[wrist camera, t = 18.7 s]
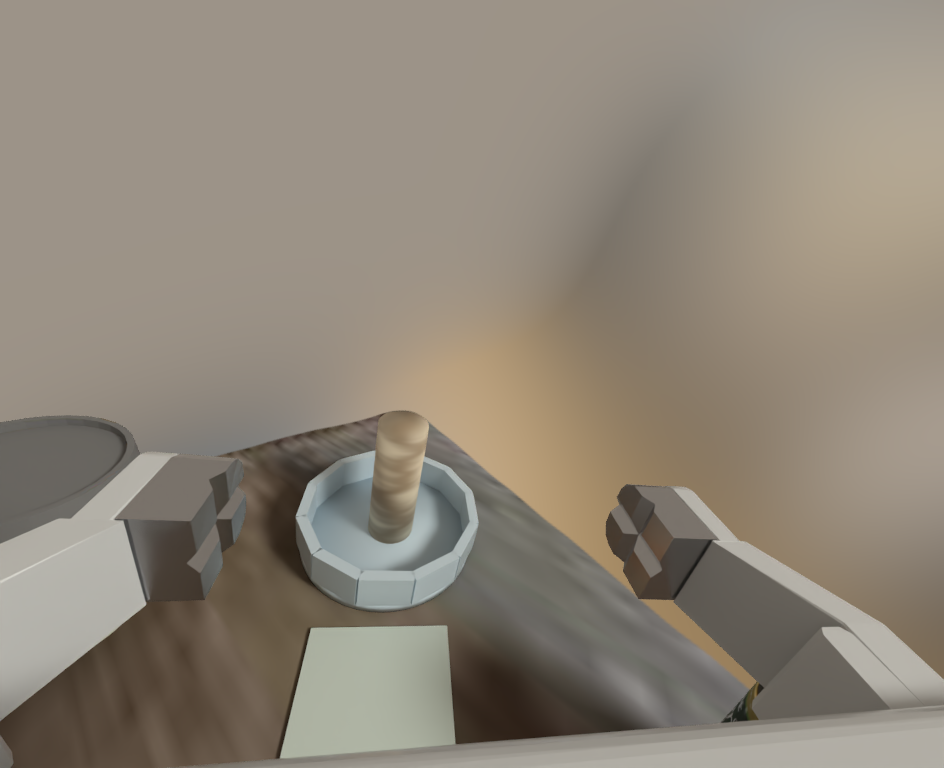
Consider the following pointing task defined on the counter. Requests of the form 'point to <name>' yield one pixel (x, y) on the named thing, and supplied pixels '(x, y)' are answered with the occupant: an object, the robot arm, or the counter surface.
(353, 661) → the mat
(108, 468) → the reusable coffee cup
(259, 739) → the counter surface
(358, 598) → the bowl
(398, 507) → the pepper mill
